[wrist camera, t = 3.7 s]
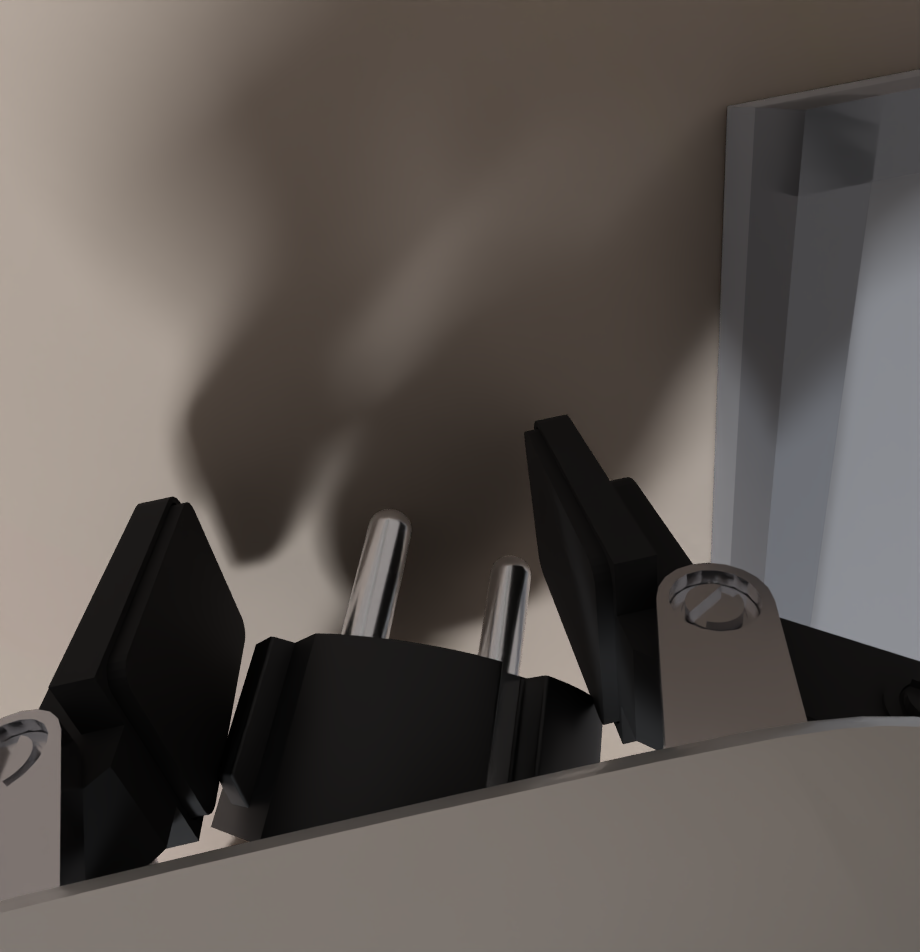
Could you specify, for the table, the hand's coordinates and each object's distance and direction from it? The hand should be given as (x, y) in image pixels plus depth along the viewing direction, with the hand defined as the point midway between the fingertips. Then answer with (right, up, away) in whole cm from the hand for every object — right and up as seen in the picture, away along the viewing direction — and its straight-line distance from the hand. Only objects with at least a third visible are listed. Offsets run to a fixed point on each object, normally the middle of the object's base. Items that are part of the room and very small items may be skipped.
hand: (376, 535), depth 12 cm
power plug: (-1, -4, +3) cm, 5 cm away
